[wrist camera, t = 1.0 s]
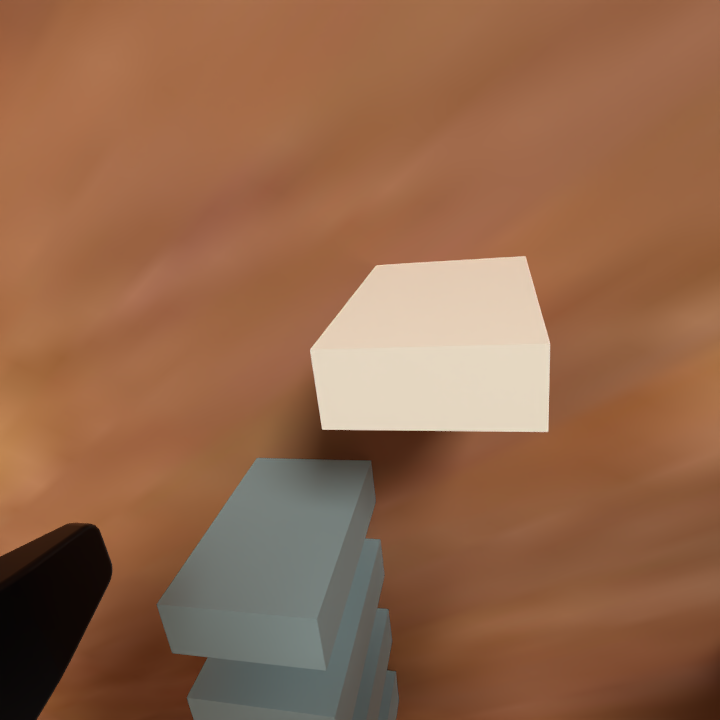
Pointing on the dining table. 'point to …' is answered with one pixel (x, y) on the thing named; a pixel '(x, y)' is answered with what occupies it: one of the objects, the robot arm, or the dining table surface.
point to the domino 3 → (374, 669)
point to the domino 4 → (389, 698)
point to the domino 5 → (437, 351)
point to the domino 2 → (299, 685)
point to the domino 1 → (274, 565)
